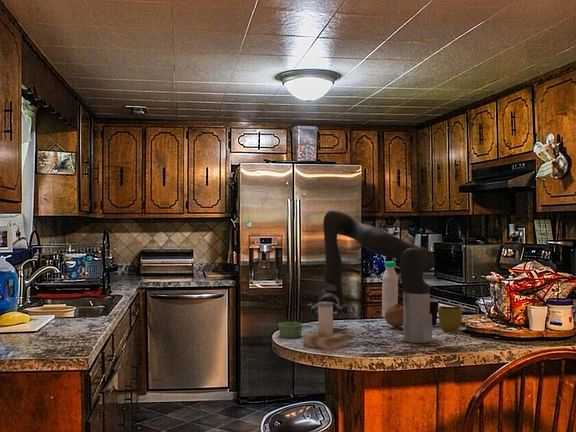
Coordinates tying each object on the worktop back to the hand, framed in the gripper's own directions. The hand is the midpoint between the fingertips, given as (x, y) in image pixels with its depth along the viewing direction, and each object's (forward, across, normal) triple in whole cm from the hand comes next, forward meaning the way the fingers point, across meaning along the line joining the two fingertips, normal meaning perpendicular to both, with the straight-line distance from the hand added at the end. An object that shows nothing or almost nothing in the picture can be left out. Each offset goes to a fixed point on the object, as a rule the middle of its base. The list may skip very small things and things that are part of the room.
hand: (326, 311), depth 191 cm
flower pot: (-33, +47, +12) cm, 58 cm away
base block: (0, 0, +11) cm, 11 cm away
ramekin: (-14, -14, +12) cm, 23 cm away
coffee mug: (-48, +40, +12) cm, 63 cm away
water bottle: (-61, +25, +12) cm, 67 cm away
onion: (-35, +26, +12) cm, 45 cm away
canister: (0, 0, +8) cm, 8 cm away
